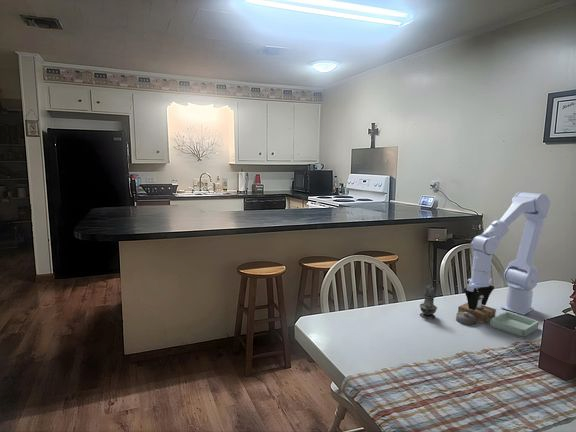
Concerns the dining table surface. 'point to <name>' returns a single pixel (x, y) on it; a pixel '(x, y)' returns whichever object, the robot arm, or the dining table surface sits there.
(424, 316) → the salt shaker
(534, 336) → the dining table surface
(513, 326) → the tray
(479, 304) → the lock pin
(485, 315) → the block
